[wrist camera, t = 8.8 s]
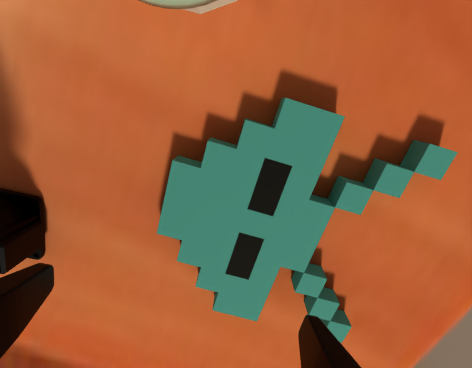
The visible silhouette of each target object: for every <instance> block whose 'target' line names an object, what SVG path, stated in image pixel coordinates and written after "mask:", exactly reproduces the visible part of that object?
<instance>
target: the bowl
mask: <svg viewBox="0 0 472 368" xmlns="http://www.w3.org/2000/svg"><path fill="white" fill-rule="evenodd" d="M235 1H238V0H217V1H214V2H212V3H209V4H207V5H204V6H200V7H195V8H190V9H183V10H187V11H191V12H195V13H198V14H203V13H205V12H208V11H211V10H214V9H216V8H219V7H222V6H224V5H227V4H230V3H233V2H235Z"/></svg>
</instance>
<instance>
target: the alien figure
mask: <svg viewBox="0 0 472 368" xmlns="http://www.w3.org/2000/svg"><path fill="white" fill-rule="evenodd" d="M344 117H345V116H342V115H338V114H335V113H332V112H329V111H326V110H323V109H320V108H316V107H313V106H310V105H307V104H304V103H301V102H298V101H295V100H291V99H288V98H281V101H280V104H279V107H278V110H277V113H276V116H275V119H274V122H273V125H272V126H269V125H266V124H263V123H259V122H256V121H253V120H250V119H246V118H245V120H244V124H243V127H242V130H241V134H240V137H239V140H238V144H237V145H235V144H232V143H228V142H225V141H222V140H218V139H215V138H212V137H211V138H210V139H209V140H208V142H207V146H206V150H205V153H204V157H203V161H202V162H199V161H196V160H192V159H189V158H186V157H182V156H179V155H178V156H177V157H176V158H174V159H173V160H172V165H171V169H170V174H169V179H168V183H167V188H166V193H165V197H164V202H163V207H162V211H161V216H160V221H159V225H158V230H157V234H161V235H164V236H168V237H172V238H175V239H179V240H182V243H181V247H180V251H179V255H178V259H177V261H178V262H182V263H186V264H190V265H194V266H197V267H201V268H200V271H199V274H198V278H197V282H196V286H195V287H199V288H203V289H207V290H211V291H214V292H216V293H215V297H214V304H213V310H214V311H218V312H222V313H226V314H230V315H234V316H238V317H242V318H246V319H250V320H254V321H257V320H258V317H259V315H260V313H261V310H262V308H263V306H264V303H265V301H266V299H267V296H268V294H269V292H270V289H271V287H272V285H273V282H274V280H275V278H276V275H277V273H278V271H279V268H280V267H284V268H287V269H291V270H295V271H294V274H293V276H292V278H291V279H292V283H293V287H294V290H295V292H297V293H301V294H304V295H307V296H306V298H305V300H304V303H305V306H306V309H307V312H308V315H313V316H317V317H319V318H320V319H321V321H322V322H323V323H324V324H325V325H326V327H327V328H328V329H329V330H330V331H331V332H332V334H333V335H334V336H335V337H336V338H337V340H338V341H339V342H343V340H344V338H345V337H346V335H347V333H348V332H349V330H350V328H351V327H352V326H351V324H350V322H349V320H348V318H347V316H346V314H345V312H344V311H342V310H338V309H337V308H338V306H339V305H340V303H339V301H338V299H337V297H336V295H335V292H334V290H333V289H329V288H326V287H324V285H325V283H326V281H327V278H326V275H325V273H324V271H323V269H322V267H321V266H318V265H315V264H311V263H309V261H310V259H311V257H312V255H313V253H314V251H315V249H316V247H317V244H318V242H319V240H320V238H321V236H322V234H323V232H324V230H325V228H326V225H327V223H328V221H329V219H330V217H331V215H332V213H333V211H334V209H335V208H339V209H342V210H346V211H349V212H353V213H356V214H359V215H361V213H362V211H363V209H364V207H365V206H366V204H367V202H368V200H369V198H370V196H371V194H372V192H373V190H375V191H378V192H381V193H385V194H388V195H391V196H395V197H398V198H400V196H401V194H402V193H403V191H404V189H405V187H406V186H407V184H408V182H409V180H410V178H411V177H412V175H413V173H414V172H416V173H419V174H423V175H426V176H429V177H432V178H436V179H439V180H441V179H442V177H443V176H444V174H445V172H446V171H447V169H448V167H449V166H450V164H451V162H452V161H453V159H454V157H455V156H456V154H457V153H458V152H454V151H451V150H448V149H445V148H442V147H439V146H436V145H433V144H429V143H425V142H420V141H416V140H413V142H412V144H411V146H410V148H409V149H408V151H407V153H406V155H405V157H404V159H403V161H402V162H401V164H400V166H399V165H395V164H392V163H389V162H386V161H382V160H379V159H376V158H375V159H374V161H373V163H372V165H371V167H370V169H369V171H368V173H367V175H366V177H365V179H364V181H363V183H362V182H358V181H355V180H352V179H348V178H345V177H342V176H338V177H337V180H336V182H335V184H334V186H333V188H332V191H331V193H330V195H329V197H328V199H326V198H323V197H320V196H316V195H313V194H312V192H313V189H314V187H315V185H316V182H317V180H318V178H319V175H320V173H321V171H322V168H323V166H324V164H325V162H326V159H327V157H328V155H329V152H330V150H331V148H332V145H333V143H334V141H335V138H336V136H337V134H338V131H339V129H340V127H341V124H342V122H343V120H344Z"/></svg>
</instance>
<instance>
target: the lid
mask: <svg viewBox="0 0 472 368" xmlns="http://www.w3.org/2000/svg"><path fill="white" fill-rule="evenodd" d="M139 1H141V2H144V3H146V4H149V5H152V6H157V7H161V8H167V9H190V8H195V7H200V6H204V5H207V4H209V3H212V2H214V1H217V0H139Z"/></svg>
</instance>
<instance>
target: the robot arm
mask: <svg viewBox="0 0 472 368" xmlns="http://www.w3.org/2000/svg"><path fill="white" fill-rule="evenodd" d="M35 202H36V203H37V204H36V203H35ZM44 254H45V249H44V217H43V201H42V199H41V198H40V197H37V196H33V195H28V194H24V193H19V192H15V191H10V190H5V189H1V188H0V274H5V273H6V272H8V271H9V270H11V269H12V268H13V267H15V266H16V265H18V264H19V263H20V262H22V261H23V260H24V259H26V258H32V259H37V260H38V259H41V258H42V257H43V256H44ZM53 286H54V268H53V266H52V265H49V264H44V263H38V264H35V265H32V266H30V267H27V268H25V269H22V270H19V271H17V272H14V273H12V274H9V275H6V276H4V277H1V278H0V358H1V357H2V356H3V355H4V354H5V352H6V351H7V350H8V349H9V348H10V346H11V345H12V344H13V343H14V342H15V340H16V339H17V338H18V337H19V336H20V334H21V333H22V332H23V330H24V329H25V327H26V326H27V325H28V323H29V322H30V320H31V319H32V318H33V316H34V315H35V313H36V312H37V311H38V309H39V308H40V306H41V305H42V304H43V302H44V301H45V299H46V298H47V297H48V295H49V294H50V292H51V291H52V289H53ZM299 348H300V359H301V368H361V367H360V366H359V364H358V363H357V362H356V361H355V360H354V358H353V357H352V356H351V355H350V354H349V353H348V351H347V350H346V349H345V348H344V347H343V345H342V344H341V343H340V342H339V341H338V340H337V338H336V337H335V336H334V335H333V334H332V332H331V331H330V330H329V329H328V328H327V327H326V325H325V324H324V323H323V322H322V321H321V319H320V318H319V317H317V316H313V315H306V316H305V318H304V320H303V323H302V325H301V327H300V330H299Z"/></svg>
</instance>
